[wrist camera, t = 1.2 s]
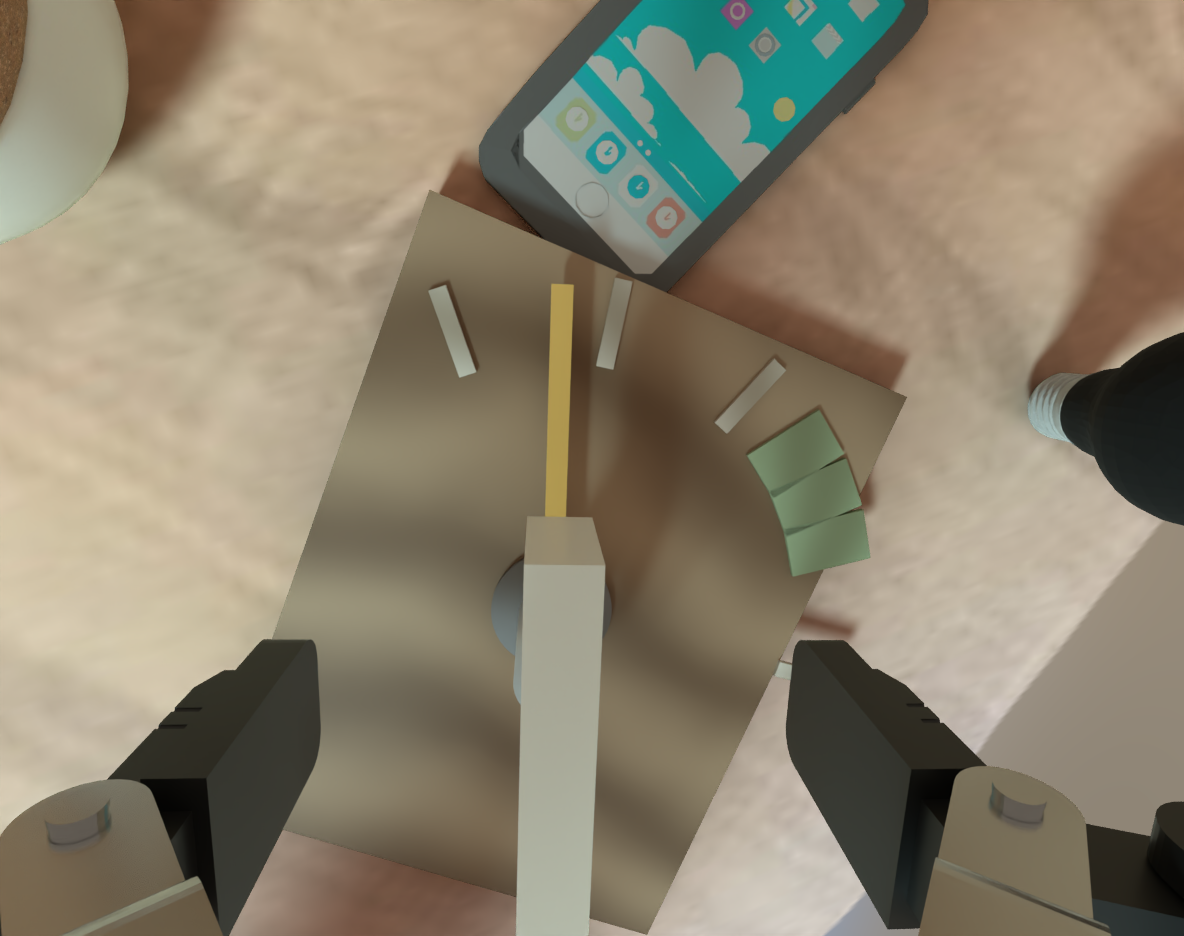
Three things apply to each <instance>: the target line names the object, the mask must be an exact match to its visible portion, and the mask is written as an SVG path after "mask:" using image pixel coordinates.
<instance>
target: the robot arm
mask: <svg viewBox="0 0 1184 936" xmlns="http://www.w3.org/2000/svg"><path fill="white" fill-rule="evenodd" d="M320 737H321V720H320V700H319V680H318V660H317V650H316V645H315V643H314V641H313V640H311V639H264V640H262V641H261V642H260V643H259V644H258V645H257V646H256V647H255V648H254V649H253V651H252V652H251V653H250V654H249V655H248V656H247V657H246V659H245V660H244V661H243V662H242V663H241V664H240V665H239V667H238V668H237V669H236V670H224V671H222V672H220V673H219V674H217V675H215V676H213V677H212V678H210V679H208V680H206V681H205V682H203V683H201V684H199V685H198V686H196V687H194V688H193V689H192V690H191V691H190V692H189V693H188V695H187V696H186V697H185V698H184V699H183V700H182V701H181V702H180V703H179V704H178V705H177V706H176V707H175V711H174V712H170V714H169V715H168V716H167V717H166V718H165V719H164V720H163V721H162V722H161V723H160V724H159V728H158V729H154V730H153V731H152V733H151V734H150V735H149V736H148V737H147V738H146V739H145V740H144V741H143V742H142V743H141V744H140V745H139V746H138V747H137V748H136V749H135V750H134V752H133V753H132V754H131V755H130V756H129V757H128V758H127V759H126V760H125V761H124V762H123V763H122V764H121V765H120V766H119V767H118V768H117V769H116V771H115V772H114V773H113V774H112V775H111V776H110V777H109V778H108V779H107V780H102V781H96V782H91V783H86V784H83V785H79V786H76V787H72V788H70V789H67V790H64V791H61V792H59V793H57V794H54V795H52V796H50V797H48V798H46V799H44V800H42V801H40V802H39V803H37V804H35V805H33V806H32V807H30V808H29V809H27V810H26V811H24V812H23V813H22V814H20V815H19V816H18V817H17V818H15V819H14V820H13V821H12V822H11V823H10V824H9V825H8V826H7V827H6V829H5V830H4V832H3V833H2V834H1V836H0V936H229V934H230V932H231V930H232V928H233V926H234V924H235V922H236V920H237V919H238V917H239V915H240V913H241V911H242V909H243V907H244V905H245V903H246V901H247V899H248V897H249V895H250V893H251V891H252V889H253V887H254V885H255V883H256V881H257V879H258V877H259V875H260V873H261V871H262V869H263V867H264V865H265V863H266V861H267V859H268V857H269V855H270V853H271V852H272V850H273V848H274V846H275V844H276V842H277V840H278V838H279V836H280V834H281V832H282V830H283V828H284V826H285V824H286V822H287V820H288V818H289V816H290V814H291V812H292V810H293V808H294V806H295V804H296V802H297V800H298V798H299V796H300V794H301V792H302V790H303V788H304V787H305V785H306V783H307V781H308V779H309V777H310V775H311V773H312V771H313V768H314V766H315V763H316V760H317V756H318V752H319V746H320ZM786 738H787V745H788V750H789V754H790V757H791V760H792V762H793V764H794V766H795V768H796V770H797V771H798V773H799V775H800V777H801V778H802V780H803V782H804V784H805V785H806V787H807V789H808V791H809V792H810V794H811V796H812V798H813V799H814V801H815V803H816V805H817V806H818V808H819V810H820V812H821V813H822V815H823V817H824V819H825V820H826V822H827V824H828V826H829V827H830V829H831V831H832V833H833V834H834V836H835V838H836V840H837V841H838V843H839V845H840V847H841V848H842V850H843V852H844V854H845V855H846V857H847V859H848V861H849V862H850V864H851V866H852V868H853V869H854V871H855V873H856V875H857V876H858V878H859V880H860V882H861V883H862V885H863V887H864V889H865V890H866V892H867V894H868V896H869V897H870V899H871V901H872V903H873V904H874V906H875V908H876V909H877V911H878V913H879V915H880V916H881V918H882V920H883V922H884V923H885V925H886V927H887V929H913V928H920V930H919V935H918V936H1184V802H1170V803H1166V804H1163V805H1161V806H1160V807H1159V808H1158V809H1157V811H1156V815H1155V820H1154V824H1153V828H1152V833H1151V836H1146V835H1141V834H1136V833H1130V832H1125V831H1120V830H1115V829H1110V828H1104V827H1099V826H1094V825H1090V824H1086V823H1085V819H1084V817H1083V815H1082V813H1081V812H1080V810H1079V809H1078V808H1077V807H1076V805H1075V804H1074V803H1073V802H1071V801H1070V800H1069V799H1068V798H1067V797H1066V796H1064V795H1063V794H1062V793H1061V792H1059V791H1057V790H1056V789H1054V788H1053V787H1051V786H1049V785H1047V784H1046V783H1044V782H1042V781H1040V780H1038V779H1035V778H1033V777H1031V776H1028V775H1025V774H1022V773H1020V772H1016V771H1012V770H1009V769H1004V768H999V767H991V766H986V765H985V764H984V763H983V762H982V761H981V760H980V759H979V758H978V757H977V756H976V755H975V754H974V753H973V752H972V751H971V750H970V749H969V748H968V747H967V746H966V745H965V744H964V743H963V742H962V741H961V740H960V739H959V738H958V737H957V736H956V735H955V734H954V733H953V732H952V731H951V730H950V729H949V728H948V727H947V726H946V725H945V724H944V723H940V720H939V718H938V717H937V716H936V715H935V714H934V713H933V712H932V711H931V710H930V709H929V708H928V707H924V703H923V702H922V701H921V700H920V699H919V698H918V697H917V696H916V695H915V694H914V693H913V692H912V691H911V690H910V689H909V688H908V687H907V686H906V685H905V684H903V683H901V682H899V681H898V680H896V679H894V678H892V677H891V676H889V675H887V674H885V673H883V672H882V671H880V670H878V669H872V668H871V667H870V666H869V665H868V664H867V663H866V662H865V661H864V660H863V659H862V658H861V657H860V656H859V655H858V654H857V653H856V652H855V650H854V649H853V648H852V647H851V646H850V645H849V644H848V643H847V642H845V641H843V640H801V641H799V642H798V643H797V644H796V646H795V649H794V653H793V661H792V671H791V681H790V690H789V700H788V710H787V720H786Z"/></svg>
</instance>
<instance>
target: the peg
mask: <svg viewBox="0 0 1184 936" xmlns="http://www.w3.org/2000/svg"><path fill="white" fill-rule="evenodd" d="M573 291H574V285H570V284H551V315H550V351H549V387H548V424H547V460H546V497H545V517H544V516H527V527H526V541H525V556H524V582H523V601H522V603H521V605H520V608H519V614H518V627H517V640H516V653H515V666H514V679H513V688H514V693H515V696H516V698H517V700H518V702H519V703H520V705H521V720H520V766H519V812H518V858H517V905H516V936H589V915H590V893H591V871H592V849H593V827H594V806H595V784H596V762H597V740H598V718H599V696H600V674H601V653H602V631H603V609H604V587H605V562H604V558H603V555H602V551H601V547H600V544H599V540H598V537H597V533H596V529H595V526H594V522H593V518H592V517H566V499H567V469H568V439H569V410H570V380H571V350H572V320H573Z"/></svg>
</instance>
